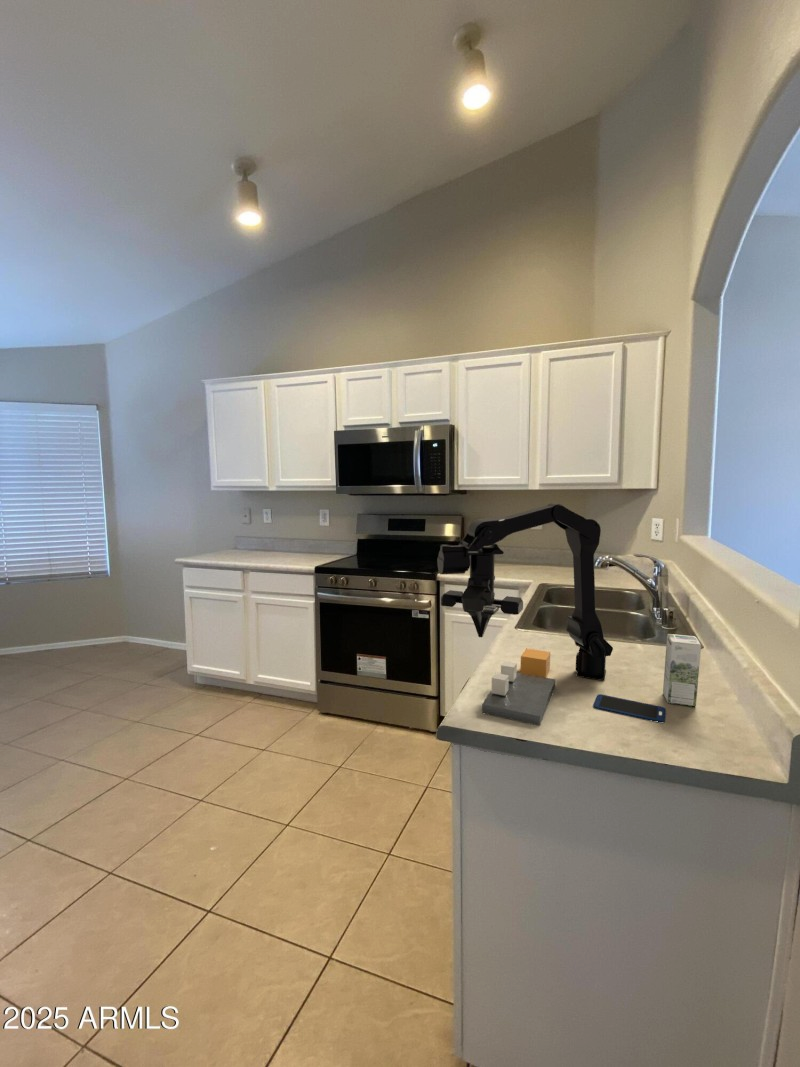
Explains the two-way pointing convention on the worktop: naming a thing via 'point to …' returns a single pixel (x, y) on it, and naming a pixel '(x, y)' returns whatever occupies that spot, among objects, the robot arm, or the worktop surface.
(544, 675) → the orange squarish block
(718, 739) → the worktop surface
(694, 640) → the syrup box
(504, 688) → the block
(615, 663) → the worktop surface
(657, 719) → the cell phone
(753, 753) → the worktop surface
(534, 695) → the panel
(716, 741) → the worktop surface
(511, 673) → the light grey block
